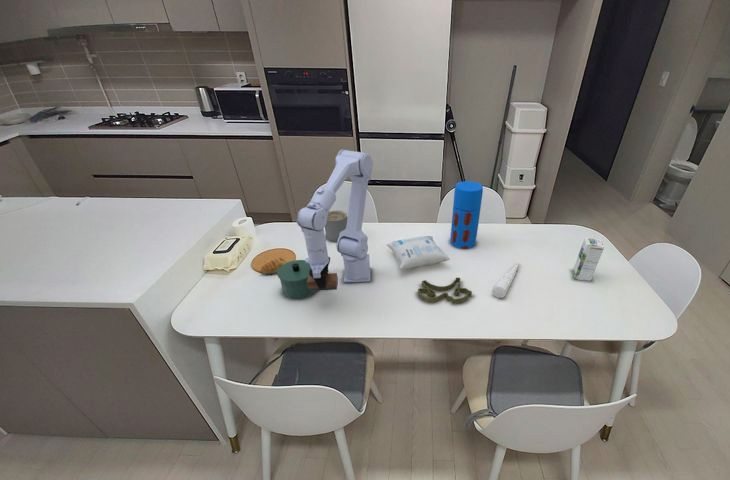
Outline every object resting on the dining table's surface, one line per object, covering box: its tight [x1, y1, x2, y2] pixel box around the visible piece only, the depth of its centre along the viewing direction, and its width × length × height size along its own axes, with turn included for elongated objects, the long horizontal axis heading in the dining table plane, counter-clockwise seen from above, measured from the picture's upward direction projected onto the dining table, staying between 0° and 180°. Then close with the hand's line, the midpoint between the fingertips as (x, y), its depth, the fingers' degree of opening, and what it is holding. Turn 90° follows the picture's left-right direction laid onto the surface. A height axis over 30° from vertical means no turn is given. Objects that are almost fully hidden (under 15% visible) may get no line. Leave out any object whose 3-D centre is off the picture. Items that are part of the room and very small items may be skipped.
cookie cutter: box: [417, 277, 473, 305], centre depth 121 cm, size 18×12×2 cm, turn 98°
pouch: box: [385, 235, 451, 270], centre depth 136 cm, size 8×19×20 cm
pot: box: [279, 278, 316, 300], centre depth 121 cm, size 12×12×8 cm
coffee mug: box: [324, 209, 348, 243], centre depth 151 cm, size 13×10×10 cm
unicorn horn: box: [491, 263, 519, 299], centre depth 126 cm, size 5×24×5 cm, turn 146°
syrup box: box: [572, 237, 605, 282], centre depth 126 cm, size 6×6×14 cm
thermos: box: [450, 180, 484, 250], centre depth 142 cm, size 11×11×25 cm
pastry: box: [260, 256, 287, 275], centre depth 131 cm, size 9×7×4 cm
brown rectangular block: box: [307, 272, 339, 292], centre depth 111 cm, size 9×4×4 cm, turn 95°
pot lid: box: [276, 259, 312, 282], centre depth 118 cm, size 13×13×3 cm
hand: (323, 283), depth 112 cm, fingers closed on brown rectangular block, 4 cm apart
